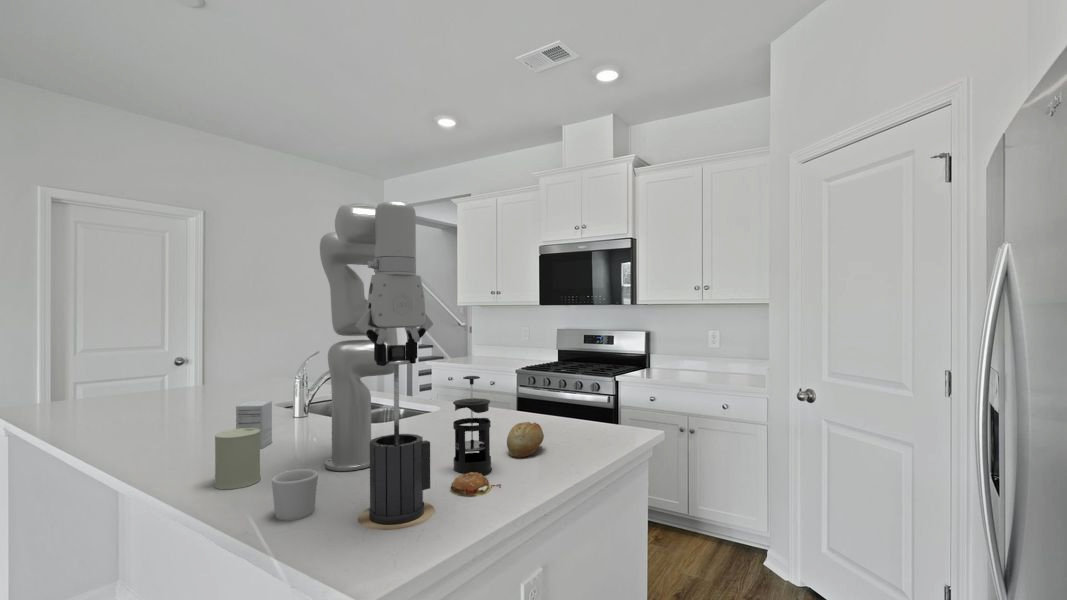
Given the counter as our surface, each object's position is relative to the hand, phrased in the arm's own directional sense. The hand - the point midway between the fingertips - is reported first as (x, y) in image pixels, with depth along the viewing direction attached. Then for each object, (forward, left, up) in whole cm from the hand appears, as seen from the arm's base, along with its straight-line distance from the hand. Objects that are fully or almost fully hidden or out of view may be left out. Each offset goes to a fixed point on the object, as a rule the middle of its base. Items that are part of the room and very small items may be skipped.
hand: (396, 363), depth 95 cm
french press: (-15, +26, -29) cm, 42 cm away
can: (-43, -20, -29) cm, 56 cm away
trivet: (0, 0, -29) cm, 29 cm away
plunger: (0, 0, -18) cm, 18 cm away
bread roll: (-20, +46, -29) cm, 58 cm away
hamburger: (-3, +20, -30) cm, 36 cm away
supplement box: (-77, -11, -29) cm, 83 cm away
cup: (-14, -14, -29) cm, 35 cm away
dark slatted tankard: (0, 0, -28) cm, 28 cm away
